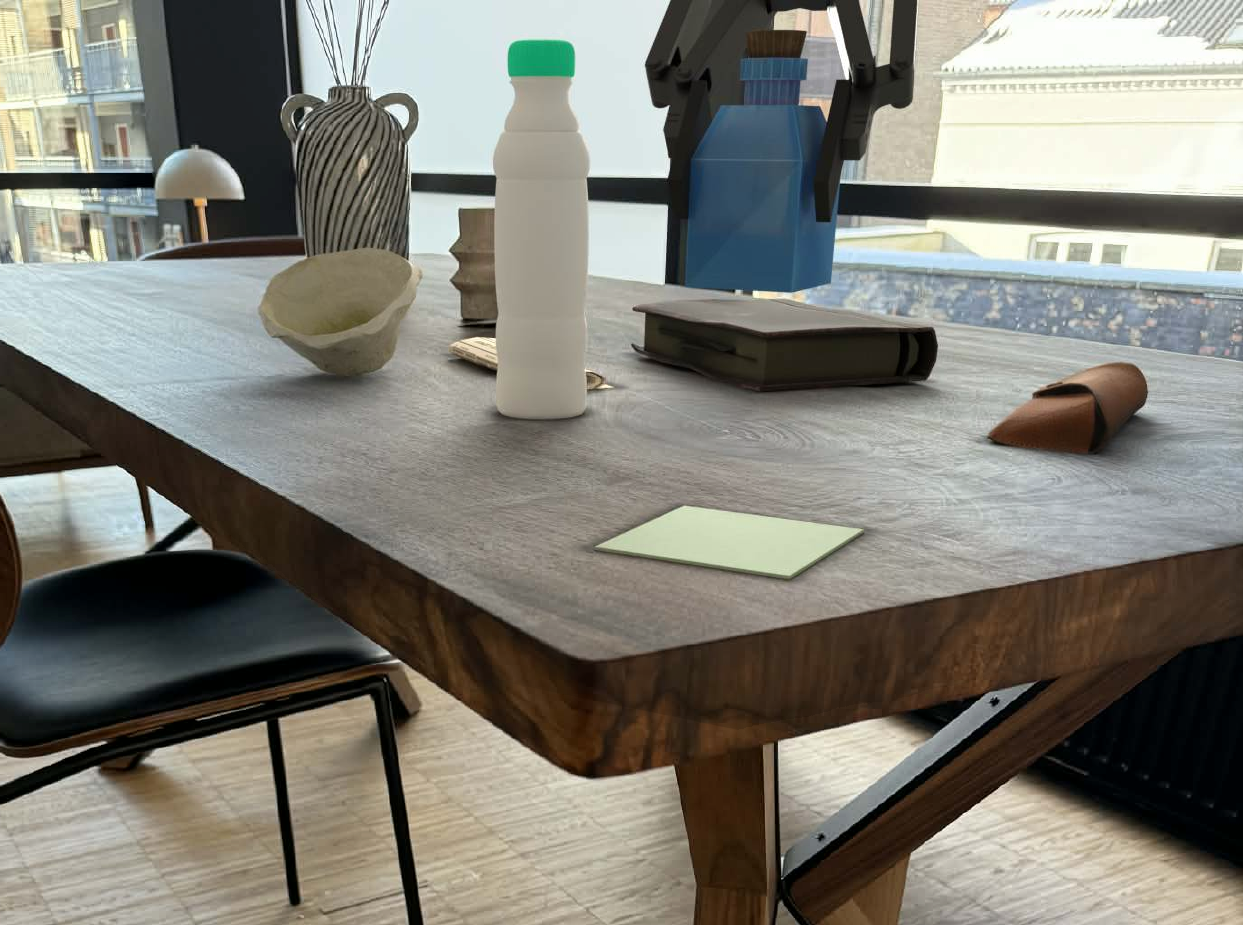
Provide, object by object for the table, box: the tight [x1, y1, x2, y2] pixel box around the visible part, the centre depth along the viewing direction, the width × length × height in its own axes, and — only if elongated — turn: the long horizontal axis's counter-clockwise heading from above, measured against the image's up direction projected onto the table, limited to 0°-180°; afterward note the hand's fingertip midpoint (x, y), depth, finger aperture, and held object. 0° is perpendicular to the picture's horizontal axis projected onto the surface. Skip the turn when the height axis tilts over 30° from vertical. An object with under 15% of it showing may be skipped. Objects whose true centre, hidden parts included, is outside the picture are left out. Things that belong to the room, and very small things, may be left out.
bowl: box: [257, 247, 424, 377], centre depth 128 cm, size 15×14×10 cm
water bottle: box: [492, 38, 591, 420], centre depth 106 cm, size 7×7×25 cm
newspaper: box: [448, 336, 615, 390], centre depth 130 cm, size 24×7×2 cm, turn 23°
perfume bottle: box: [684, 29, 841, 294], centre depth 77 cm, size 6×6×12 cm
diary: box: [630, 298, 939, 393], centre depth 132 cm, size 19×25×5 cm
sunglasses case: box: [986, 361, 1149, 455], centre depth 106 cm, size 18×7×7 cm, turn 152°
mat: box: [594, 505, 865, 580], centre depth 77 cm, size 11×11×1 cm
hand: (749, 201), depth 75 cm, fingers closed on perfume bottle, 7 cm apart
